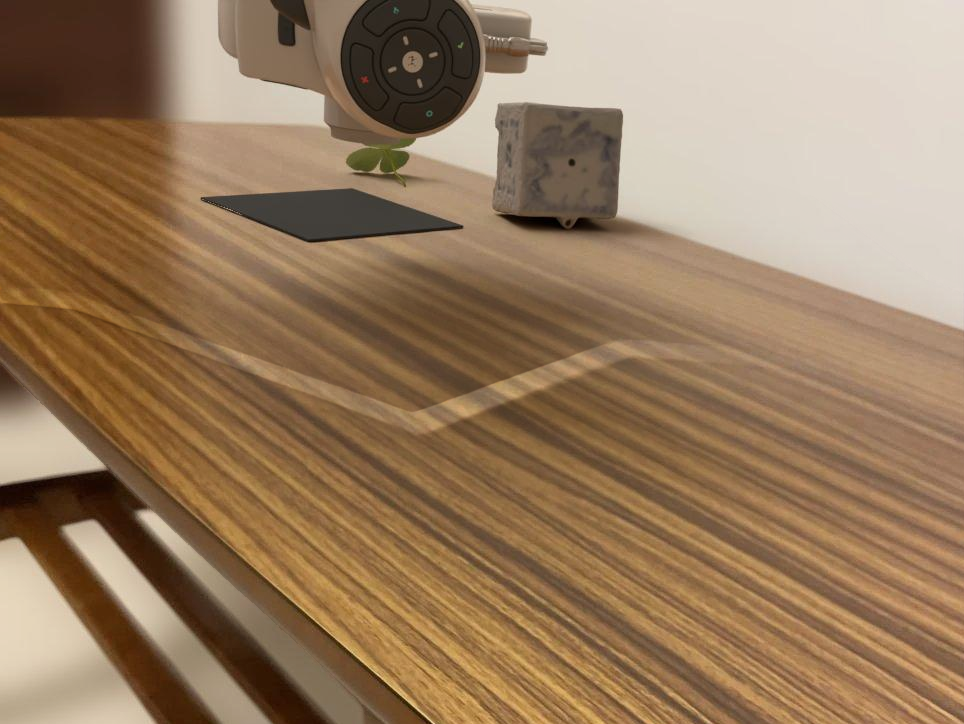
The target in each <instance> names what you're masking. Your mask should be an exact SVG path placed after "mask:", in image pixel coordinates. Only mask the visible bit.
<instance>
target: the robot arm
mask: <svg viewBox="0 0 964 724" xmlns="http://www.w3.org/2000/svg"><path fill="white" fill-rule="evenodd" d="M532 23H533V19H532V17H531V14H529V13H528V12H526V11H524V10H520V9H516V8H510V7H501V6H492V5H483V4H474V3H472V2H470V0H217V28H218V29H217V33H218V34H217V36H218V42H219V43H220V45H221V47H222V49H223V51H224V52H225V53H226V54H227V55H229V56H230V57H232V58H234V59H236V60H237V64H238V71H239V73H240V74H241V76H244V77H246V78H249V79H256V80H260V81H262V82H266V83H272V84H279V85H284V86H288V87H292V88H297V89H300V90H301V89H302V90H308V91H309V90H310V91H312V92H315V93H318V94H320V95H323V96H324V95H325V96H327V97H329V98H332V99H334V100H336V101H337V102H338V103H339V104H340V106H341V107H342V108H343V109H344V110H345V111H346V112H347V113H348V114H349V115H350V116H351V117H352V118H353V119H355V120H356V121H357V122H358V123H360V124H361V125H363V126H364V127H366V128H367V129H369V130H371V131H373V132H375V133H378V134H381V135H383V136H388V137H393V138H416V139H421V138H426V137H429V136H433V135H436V134H437V133H440V132H442V131H444V130H445V129H447V128H449V127H451V126H452V125H453V124H454V123H455V122H457V121H458V120H459V119H461V117H462V116H464V115H465V113H466V112H467V111H468V110H469V109H470V108H471V107H472V105H473V104H474V102H475V100H476V99H477V96H478V94H479V93H480V90H481V87H482V84H483V81H484V77H485V73H488V74H489V73H490V74H501V75H502V74H506V75H507V74H508V75H510V74H511V75H512V74H513V75H514V74H516V75H517V74H523V73H525V72H526V71H527V69H528V65H529V58H530V57H529V56H530V55H531V56H539V57H540V56H541V57H544V56H547V52H548V51H549V46H548V42H547V41H545V40H543V39H539V38H535V37H532V36H531V35H532V25H533V24H532Z"/></svg>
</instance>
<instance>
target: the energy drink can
mask: <svg viewBox="0 0 964 724" xmlns="http://www.w3.org/2000/svg"><path fill="white" fill-rule="evenodd" d="M323 96H324V97H323V99H324V100H323V101H324V102H323V122H324V123H325V125H327V126H328V128H329V129H330V136H331V137H332V138H334V139H336V140H340V141H342V142H343V141H345V142H350V143H355V144H362V143H363V144H362V145H364V144H377V145H389V144H397V143H399V142H400V138H393V137H388V136H383V135H381V134H378V133H375V132H373V131H371V130H369V129H367V128H366V127H364V126H363V125H361V124H360V123H358V122H357V121H356V120H355V119H353V118H352V117H351V116H350V115H349V114H348V113H347V112H346V111H345V110H344V109H343V108H342V107H341V106H340V104H339V103H338V102H337V101H336V100H334V99H332V98H329V97H327V96H325V95H323Z"/></svg>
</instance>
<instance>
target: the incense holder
mask: <svg viewBox="0 0 964 724" xmlns="http://www.w3.org/2000/svg"><path fill="white" fill-rule="evenodd" d="M623 125H624V113H623V111H622V109H621V108H615V107H585V106H584V107H583V106H568V105H557V104H549V103H548V104H547V103H537V102H530V101H529V102H528V101H527V102H526V101H523V102H503V103H502V102H499V103H497V109H496V114H495V118H494V128H495V129H497V131H498V136H497V137H498V138H497V139H498V140H497V153H496V158H497V159H496V160H497V162H496V179H495V182H494V186H493V190H492V199H491V207H492V210H494V211H495V212H498V213H501V214H505V215H506V214H507V215H509V214H510V215H513V216H518V217H533V218H534V217H536V218H538V217H540V218H541V217H543V218H546V217H547V218H555V219H556V220H557V221H558V223H559V224H560V225H561V226H562V227H563V228H564V229H565V230H566V229H568V230H569V229H571V228H572V227H573V226H575V223H576V222H577V221H578V219H580V218H582V219H594V220H595V219H596V220H613V219H616V217H617V213H618V211H619V210H618V209H619V188H620V187H619V185H620V171H621V151H622V139H623V127H624V126H623Z"/></svg>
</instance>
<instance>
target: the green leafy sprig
mask: <svg viewBox="0 0 964 724" xmlns="http://www.w3.org/2000/svg"><path fill="white" fill-rule="evenodd" d="M416 140H417V138H400V142H399V143H397V144H389V145H377V144H363V143H361V144H362V145H364V146H366V147H364V148H360V149H358V150H355V151H352V153H350V154H348V156H347V157H346V159H345V164H346V165H347V167H349V168H350V169H352V170H353V171H357V172H359V171H360V172H363V173H369V172H372V171H374V170H375V169H376V168H377V166H378V165H379V170H380V172H381V173H383V174H390V173H394V175H395V176H396V177H397V178H398V179H399V180H400V181H401V182H402V184H403V186H404V187H405V188H406V187H407V184H406V181H405V180H404V179H403V177H401V176H400V175H399V174H398V172H397V171H398V170H399V169H400V168H403V167H404V166H405V165H406V164H408V161H409V160H410V153H409V152H408V151H405V150H397V149H405V148H407V147H410V146H411V145H412V146H413V144H414V143H415V142H416Z"/></svg>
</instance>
